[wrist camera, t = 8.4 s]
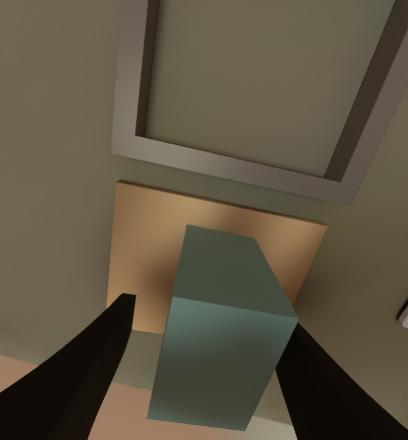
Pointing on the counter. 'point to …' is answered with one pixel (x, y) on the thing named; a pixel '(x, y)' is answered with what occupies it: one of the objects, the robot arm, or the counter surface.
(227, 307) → the block
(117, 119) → the grey flat square frame
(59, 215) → the counter surface
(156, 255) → the board
